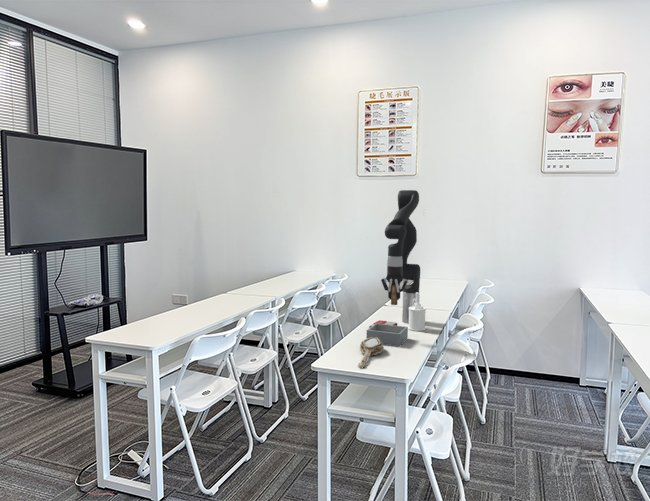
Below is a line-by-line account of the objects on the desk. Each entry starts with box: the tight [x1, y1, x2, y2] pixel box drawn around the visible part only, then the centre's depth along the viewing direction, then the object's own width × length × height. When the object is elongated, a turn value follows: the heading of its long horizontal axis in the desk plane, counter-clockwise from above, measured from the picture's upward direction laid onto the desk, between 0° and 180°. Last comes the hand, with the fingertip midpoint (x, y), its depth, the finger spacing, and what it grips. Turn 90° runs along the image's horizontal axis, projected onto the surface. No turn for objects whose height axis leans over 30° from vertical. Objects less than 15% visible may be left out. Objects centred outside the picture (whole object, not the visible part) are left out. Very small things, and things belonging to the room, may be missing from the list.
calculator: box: [368, 320, 398, 329], centre depth 260 cm, size 11×4×15 cm
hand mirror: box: [357, 337, 385, 369], centre depth 216 cm, size 11×6×30 cm
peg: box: [390, 285, 398, 306], centre depth 242 cm, size 3×3×10 cm
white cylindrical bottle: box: [407, 292, 427, 332], centre depth 261 cm, size 10×9×20 cm
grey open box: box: [366, 322, 409, 347], centre depth 241 cm, size 14×17×6 cm
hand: (394, 299), depth 242 cm, fingers closed on peg, 3 cm apart
